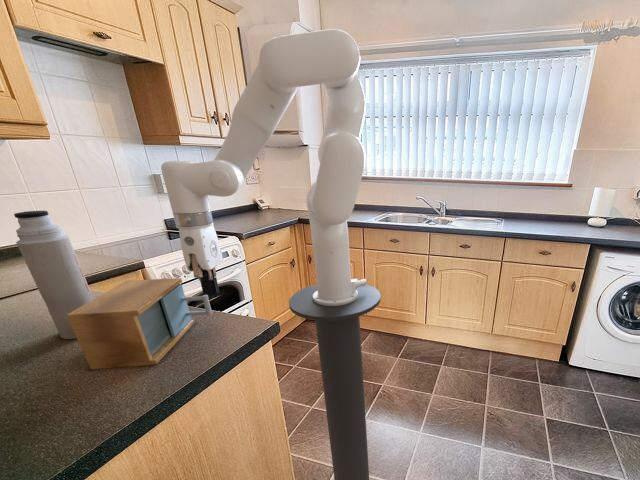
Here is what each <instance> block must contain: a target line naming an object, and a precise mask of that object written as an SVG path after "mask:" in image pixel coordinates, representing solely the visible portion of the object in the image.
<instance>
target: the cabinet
mask: <svg viewBox="0 0 640 480" xmlns="http://www.w3.org/2000/svg"><path fill="white" fill-rule="evenodd" d="M182 283H183V279H182V277H176V278H173V277H171V278H155V279H154V278H153V279H135V280H134V279H133V280H124V281H122V282H121V283H120V284H117V285H115V286H114V287H112V288H110V289H109V290H107V291H105V292H104V293H101V294H100V295H99V296H97V297H95V298H94V299H93V300H91V301H90V302H88V303H86V304H84V305H83V306H81V307H79V308H78V309H76V310H74V311H72V312H71V313H69V314H67V318H68V320H69V322H70V324H71V326H72V329H73V331H74V333H75V335H76V337H77V338H76V340H77V342H78V344H79V346H80V348H81V351H82V353H83V355H84V358H85V359H86V362H87V363H88V366H89V368H90V370H100V369H112V368H127V367H137V366H138V367H140V366H153V365H154V366H155V365H158V364H159V362H160V361H161V360H162V359H163V358H164V357H165V356H166V354H168V352H169V351H170V350H171V349H172V348H174V346H175V345H176V344H177V342H178V341H179V340H181V338H182V337H183V336H184V335H185V334H186V333H187V332H188V330H189V329H190V328H191V327H192V326H193V325H194V324H195V321H194V319H191V320H190V322H189V323H188V324H187V325H186V326H185V327H184V328H183V329H182V330H181V331H180V332H179V333H178V334H177V335H176V336H175V337H172V335H171V332H170V329H169V325H168V322H167V319H166V316H165V313H164V310H163V307H162V304H161V301H160V299H161V298H162V297H163V296H165V295H166V294H167V293H169V292H170V291H171V290H172V289H174V288H175V287H176V286H178V285H179V284H182Z"/></svg>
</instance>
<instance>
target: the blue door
mask: <svg viewBox="0 0 640 480" xmlns="http://www.w3.org/2000/svg"><path fill="white" fill-rule="evenodd" d="M209 299H210V298H209V295H204V294H203V295H197V296H194V295H193V296H186V295H185V291H184V288H183V285H182V283H180V284H179V285H178V286H176V287H175V288H174V289H172V290H171V291H170V292H169V293H167V294H166V295H165V296H163V297H162V298H161V299H160V301H161V304H162V307H163V310H164V313H165V316H166V319H167V322H168V325H169V329H170V332H171V335H172V337H175V336H176V335H177V334H178V333H179V332H180V331H181V330H182V329H183V328H184V327H185V326H186V325H187V324H188V323H189V322H190V320H192V316H204V315H205V316H207V317H209V316H212V315H213V311H212V307H211V304H210V300H209ZM193 301H202V302H203V307H204V310H190V308H189V305H188V302H193Z"/></svg>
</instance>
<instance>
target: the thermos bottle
mask: <svg viewBox="0 0 640 480" xmlns="http://www.w3.org/2000/svg"><path fill="white" fill-rule="evenodd" d="M13 215H14V217H15V218H16V219H17V223H18V225H19V228H17V229H16V230H15V232H16V234H17V235H16V237H17V238H19V240H17V241H16V242H15V243H16V245H17V247H18V250H19V252H20V254H21V256H22V258H23V260H24V262H25V264H26V267H27V268H28V270H29V272H30V273H29V274H30V275H31V277H32V279H33V281H34V283H35V286H36V287H37V290H38V292H39V294H40V296H41V297H42V300H43V301H44V303H45V306H46V309H47V310H48V312H49V315H50V317H51V319H52V322H53V323H54V325H55V327H56V330H57V331H58V334H59V336H60V338H62V339H64V340H72V339H77V337H76V335H75V333H74V331H73V329H72V326H71V324H70V322H69V320H68V318H67V314H69V313H71V312H72V311H74V310H76V309H78V308H79V307H81V306H83V305H84V304H86V303H88V302H90V301H91V300H93V299H95V298H94V296H93V293H92V291H91V289H90V286H89V284H88V282H87V279H86V276H85V274H84V271H83V269H82V267H81V263H80V261H79V259H78V256H77V254H76V252H75V249H74V247H73V244H72V242H71V239H70V237H69V235H67V234H64V232H63V229H62V228H61V226H60V225H58V224H55V223H53V221H52V218H51V217H50V216H49V212H48V211H47V210H28V211H21V212H16V213H13Z"/></svg>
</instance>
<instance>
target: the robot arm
mask: <svg viewBox="0 0 640 480" xmlns="http://www.w3.org/2000/svg"><path fill="white" fill-rule="evenodd" d="M360 62H361V54H360V48H359V46H358V44H357V42H356V40H355V39H354V37H353V36H352V35H350V34H349V33H348V32H347V31H344V30H342V29H340V28H339V29H338V28H328V29H320V30H314V31H307V32H300V33H293V34H286V35H279V36H275V37H272V38H270V39H268V40H266V41H265V42H264V43H263V45H261V47H260V50H259V56H258V63H257V65H256V67H255V69H254V70H253V72H252V75H251V77H250V78H249V80H248V82H247V84H246V85H245V87H244V89H243V91H242V94H241V95H240V97H239V99H238V100H237V102H236V104H235V106H234V108H233V111H232V113H231V120H230V124H229V125H230V126H229V129H228V132H227V134H226V137H225V139H224V141H223V143H222V145H221V147H220V149H219V151H218V152H217V154H216V156H215V158H214V159H213V160H209V161H202V162H201V161H200V162H197V161H193V160H168V161H164V162H162V164H161V167H160V168H161V169H160V170H161V174H162V178H163V183H164V185H165V191H166V193H167V197H168V200H169V204H170V209H171V212H172V217H173V220H174V222H175V227H176V229H178V233H179V240H180V246H181V252H182V255H183V256H182V257H183V259H184V263H185V266H186V269H187V270H188V271H189V272H193V278H194V279H198V281H199V283H200V287H201V290H202V294H203V295H208V296H217V295H218V294H219V293H220V288H219V283H218V279H217V271H216V267H217V266H218V265H220V264H221V262H223V259H224V258H223V257H224V256H223V253H222V249H221V246H220V240H219V238H218V235H217V232H216V229H215V226H214V218H213V214H212V210H211V206H210V200H209V197H208V196H211V197H222V198H224V197H230V196H233V195H235V194H236V193H237V192H238V191H239V190H240V188H241V187H242V185H243V184H244V182H245V180H246V178H247V176H248V175H249V172H250V171H251V169H252V167H253V166H254V164H255V162H256V161H257V159H258V157H259V155H260V154H261V152H262V150H263V148H265V146H266V145H267V144H268V143H269V141H270V139H271V137H273V134H274V133H275V131H276V129H277V127H278V125H279V124H280V121H281V120H282V118H283V116H284V115H285V113H286V111H287V109H288V108H289V106H290V105H291V102H292V100H294V97H295V95H296V93H297V92H298V91H299V88H300V87H307V86H315V85H320V84H322V85H323V87H324V88H325V90H326V92H327V97H328V107H327V113H326V119H325V123H324V128H323V133H322V135H321V136H322V137H321V140H320V143H319V146H318V151H317V152H318V153H317V157H318V162H319V167H318V172H317V176H316V181H314V182H313V183H312V184H311V185H310V186H309V188H308V191H307V192H306V193H307V194H306V207H307V209H306V210H307V214H308V219H309V225H310V226H309V228H310V233H311V243H312V252H313V253H312V254H313V261H314V271H315V279H316V280H315V281H316V284H317V289H318V290H317V291H316V292H315V293H314V294H313V301H314V302H315V303H317V304H320V305H324V306H339V305H345V304H348V303H351V302H353V301H354V300H356V299H357V297H358V292H357V290H356V289H357V288H358V287H360V286H365V285H368V282H367V279H366V278H362V279H358V278H357V277H356V278H353V279H352V269H351V255H350V239H349V238H350V236H349V228H348V219H349V218H350V217H351V216H352V213H353V210H354V208H355V205H356V201H357V197H358V194H359V190H360V187H361V182H362V178H363V175H364V171H365V166H366V153H365V152H366V151H365V149H364V145H363V144H362V141H361V135H362V131H363V126H364V122H365V118H366V117H365V116H366V107H367V105H366V95H365V91H364V88H363V85H362V82H361V79H360V78H359V76H358V74H357V72H358V70H359V67H360Z"/></svg>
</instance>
